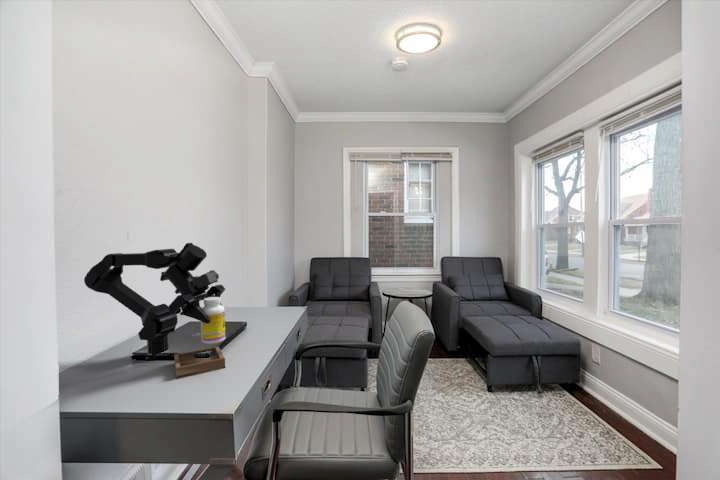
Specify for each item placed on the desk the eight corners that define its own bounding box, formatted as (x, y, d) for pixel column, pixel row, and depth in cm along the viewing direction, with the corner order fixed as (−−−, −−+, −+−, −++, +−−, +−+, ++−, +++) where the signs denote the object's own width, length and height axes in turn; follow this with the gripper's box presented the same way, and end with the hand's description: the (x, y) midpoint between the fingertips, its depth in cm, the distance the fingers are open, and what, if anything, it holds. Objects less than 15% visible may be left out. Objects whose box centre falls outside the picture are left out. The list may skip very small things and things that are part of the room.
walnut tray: (174, 363, 96) (174, 354, 96) (218, 354, 103) (218, 345, 103) (176, 378, 86) (176, 368, 86) (225, 367, 92) (224, 358, 92)
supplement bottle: (227, 341, 97) (226, 299, 97) (202, 346, 94) (201, 302, 93) (223, 335, 103) (222, 295, 102) (200, 339, 100) (198, 297, 99)
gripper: (176, 266, 89) (212, 308, 87) (219, 259, 107) (250, 294, 105) (152, 294, 91) (188, 336, 89) (199, 283, 109) (229, 317, 107)
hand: (216, 319), depth 98 cm, fingers closed on supplement bottle, 7 cm apart
